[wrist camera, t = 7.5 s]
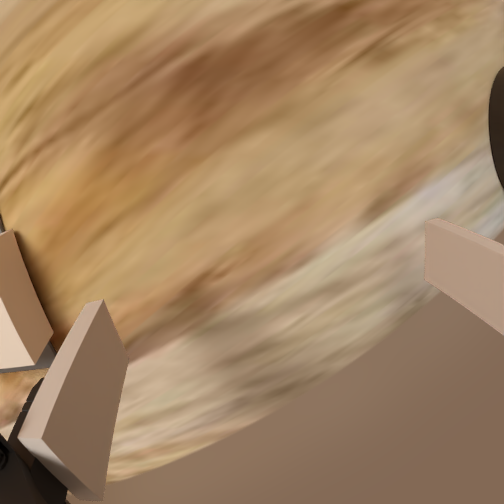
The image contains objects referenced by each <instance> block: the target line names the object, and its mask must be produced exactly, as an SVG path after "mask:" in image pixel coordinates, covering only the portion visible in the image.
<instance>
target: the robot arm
mask: <svg viewBox="0 0 504 504" xmlns="http://www.w3.org/2000/svg"><path fill="white" fill-rule="evenodd" d="M489 123H490V137H491V145H492V152H493V157H494V161H495V165H496V169H497V172H498V175H499V178H500V180H501V183H502V185H503V187H504V67H503V68H502V69H501V70H500V71H499V72H498V74H497V76H496V78H495V80H494V83H493V87H492V91H491V97H490V109H489ZM424 280H426V281H427V282H429V283H430V284H432V285H433V286H435V287H436V288H438V289H439V290H441V291H442V292H444V293H445V294H447V295H448V296H449V297H451V298H452V299H454V300H455V301H457V302H458V303H459V304H461V305H463V306H464V307H465V308H467V309H468V310H469V311H471V312H472V313H474V314H475V315H477V316H478V317H479V318H480V319H482V320H483V321H485V322H486V323H487V324H489V325H490V326H491V327H493V328H494V329H496V330H497V331H498V332H499V333H501V334H502V335H503V336H504V245H502V244H500V243H498V242H496V241H493V240H491V239H489V238H486V237H484V236H482V235H479V234H477V233H475V232H472V231H470V230H467V229H465V228H462V227H460V226H457V225H455V224H452V223H450V222H447V221H445V220H442V219H439V218H436V219H432V220H428V221H425V275H424ZM128 362H129V356H128V354H127V352H126V350H125V348H124V346H123V344H122V341H121V339H120V337H119V335H118V333H117V330H116V328H115V326H114V323H113V321H112V319H111V316H110V314H109V312H108V309H107V307H106V304H105V302H104V299H102V300H98V301H93V302H89V303H86V304H85V306H84V308H83V309H82V311H81V313H80V314H79V316H78V318H77V319H76V321H75V323H74V325H73V326H72V328H71V330H70V332H69V333H68V335H67V337H66V339H65V340H64V342H63V344H62V346H61V348H60V350H59V351H58V353H57V355H56V357H55V359H54V361H53V363H52V365H51V366H50V368H49V370H48V372H47V374H46V376H45V378H41V380H40V381H39V382H38V383H37V384H36V385H35V386H34V387H33V388H32V390H31V392H30V394H29V396H28V398H27V400H26V401H27V402H25V404H24V406H23V408H22V412H20V414H19V416H18V419H17V421H16V423H15V425H14V427H13V430H12V432H11V434H10V436H9V439H8V441H6V440H5V438H4V437H3V436H2V435H1V434H0V504H70V503H69V502H68V501H67V500H66V495H67V490H69V491H70V492H71V493H72V494H73V495H74V496H76V497H77V498H78V499H79V500H88V501H103V497H104V490H105V482H106V475H107V468H108V462H109V456H110V450H111V444H112V438H113V433H114V427H115V422H116V417H117V412H118V407H119V402H120V397H121V393H122V388H123V384H124V379H125V375H126V370H127V366H128Z"/></svg>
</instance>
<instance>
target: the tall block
mask: <svg viewBox="0 0 504 504" xmlns="http://www.w3.org/2000/svg"><path fill="white" fill-rule="evenodd" d="M53 333H54V332H53V330H52V328H51V326H50V324H49V322H48V319H47V317H46V315H45V313H44V311H43V309H42V306H41V304H40V302H39V299H38V297H37V295H36V292H35V290H34V288H33V285H32V283H31V280H30V278H29V275H28V272H27V270H26V267H25V264H24V262H23V259H22V256H21V253H20V250H19V247H18V244H17V241H16V238H15V235H14V232H13V229H11V230H8V231H5V232H3V233H0V369H5V368H14V367H23V366H31V365H35V364H36V362H37V360H38V359H39V357H40V355H41V353H42V352H43V350H44V348H45V347H46V345H47V343H48V341H49V340H50V338H51V336H52V335H53Z"/></svg>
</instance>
